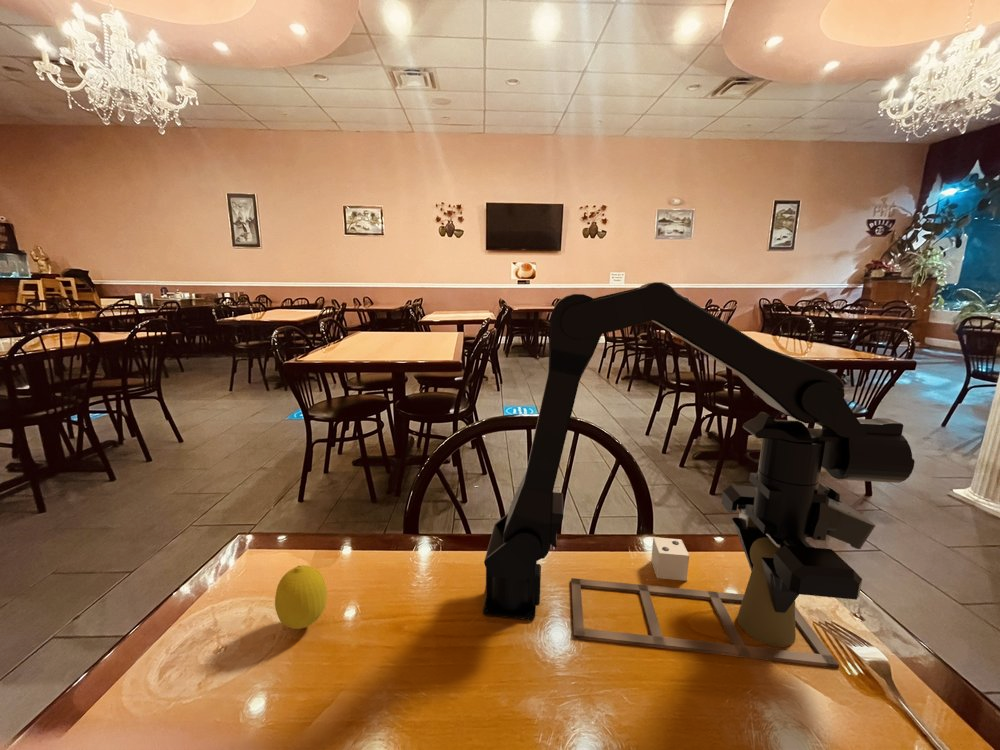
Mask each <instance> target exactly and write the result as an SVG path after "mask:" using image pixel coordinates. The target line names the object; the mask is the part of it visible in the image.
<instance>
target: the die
mask: <svg viewBox="0 0 1000 750" xmlns="http://www.w3.org/2000/svg"><path fill="white" fill-rule="evenodd" d="M650 561H651V563H652V567H653V570H654V573H655V576H656V578H657V579H664V580H665V579H666V580H675V581H684V582H686V581H688V573H689V572H688V571H689V570H688V569H689V563H690V554H689V552H688V550H687V548H686V546H685V544H684V541H683V540H682V538H681V539H679V538H667V537H655V536H653V537H652V549H651V559H650Z"/></svg>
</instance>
